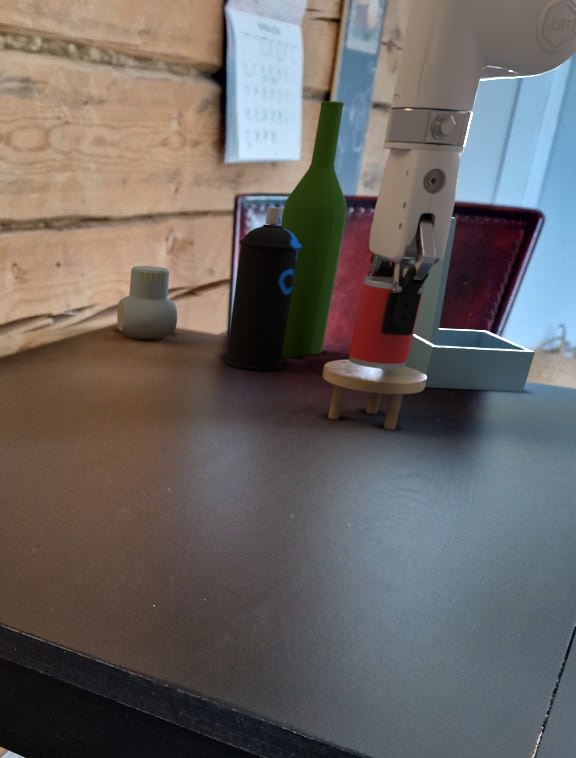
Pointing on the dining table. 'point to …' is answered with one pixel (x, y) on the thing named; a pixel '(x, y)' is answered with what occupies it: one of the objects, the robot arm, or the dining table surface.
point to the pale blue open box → (471, 361)
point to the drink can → (377, 329)
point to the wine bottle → (315, 238)
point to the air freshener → (147, 305)
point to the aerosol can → (262, 296)
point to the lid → (434, 294)
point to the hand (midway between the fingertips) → (385, 326)
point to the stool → (372, 386)
